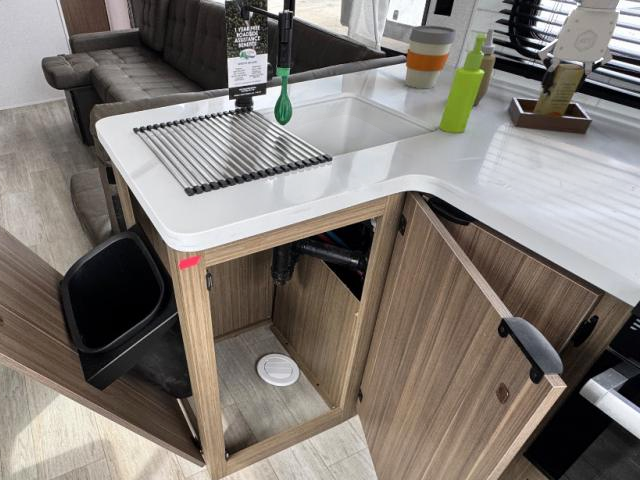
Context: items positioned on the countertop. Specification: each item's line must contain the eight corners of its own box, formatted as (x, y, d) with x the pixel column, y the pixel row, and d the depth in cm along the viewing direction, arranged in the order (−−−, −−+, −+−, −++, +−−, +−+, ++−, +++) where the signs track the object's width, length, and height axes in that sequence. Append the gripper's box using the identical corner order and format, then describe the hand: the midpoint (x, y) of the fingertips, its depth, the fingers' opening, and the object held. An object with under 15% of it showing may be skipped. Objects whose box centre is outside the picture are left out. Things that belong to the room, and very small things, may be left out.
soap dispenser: (465, 125, 109) (496, 33, 96) (463, 134, 104) (496, 39, 91) (440, 121, 111) (468, 31, 98) (438, 130, 106) (466, 36, 93)
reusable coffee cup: (391, 81, 139) (402, 27, 129) (422, 77, 143) (435, 24, 133) (417, 92, 131) (431, 34, 121) (449, 87, 134) (466, 31, 124)
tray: (571, 116, 115) (578, 103, 113) (585, 133, 105) (592, 120, 103) (507, 110, 118) (512, 97, 116) (515, 126, 109) (520, 113, 107)
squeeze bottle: (487, 107, 120) (514, 32, 108) (458, 107, 120) (482, 31, 108) (475, 98, 126) (499, 26, 114) (447, 98, 126) (469, 26, 114)
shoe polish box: (540, 121, 110) (563, 68, 102) (531, 114, 113) (553, 63, 105) (560, 121, 109) (585, 69, 101) (551, 115, 113) (574, 64, 105)
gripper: (558, 2, 94) (522, 90, 106) (651, 6, 90) (603, 97, 102) (551, -3, 100) (518, 82, 111) (638, 1, 96) (594, 89, 108)
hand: (559, 89), depth 107 cm, fingers closed on shoe polish box, 5 cm apart
